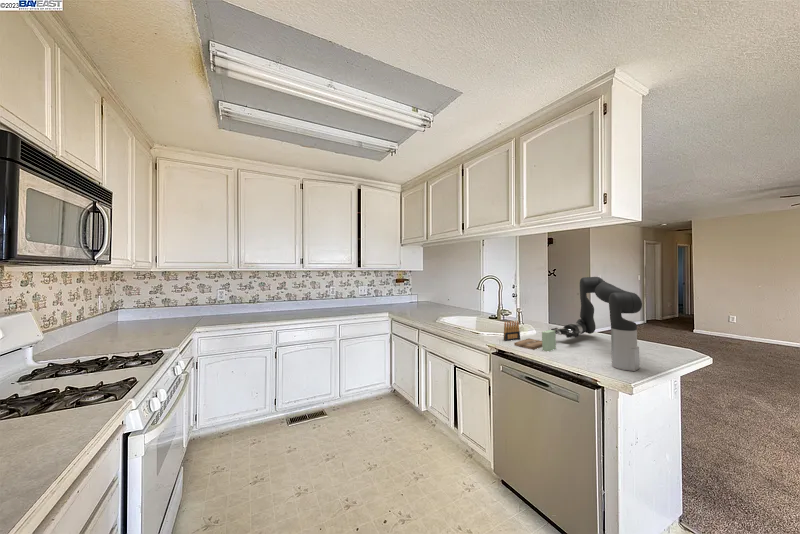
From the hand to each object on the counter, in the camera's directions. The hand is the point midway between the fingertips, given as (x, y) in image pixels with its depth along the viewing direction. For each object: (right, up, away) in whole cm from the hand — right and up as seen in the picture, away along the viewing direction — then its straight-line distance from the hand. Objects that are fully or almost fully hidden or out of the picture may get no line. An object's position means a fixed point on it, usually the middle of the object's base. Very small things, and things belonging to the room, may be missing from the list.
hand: (559, 334), depth 168 cm
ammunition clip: (-21, -7, +16) cm, 27 cm away
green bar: (-9, -7, -6) cm, 13 cm away
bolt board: (-14, -7, +3) cm, 16 cm away
